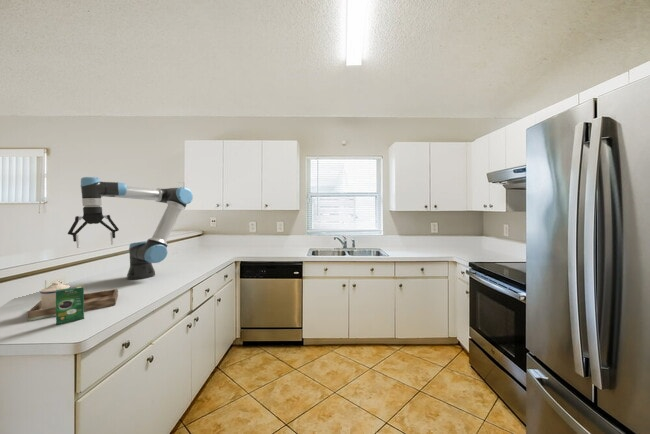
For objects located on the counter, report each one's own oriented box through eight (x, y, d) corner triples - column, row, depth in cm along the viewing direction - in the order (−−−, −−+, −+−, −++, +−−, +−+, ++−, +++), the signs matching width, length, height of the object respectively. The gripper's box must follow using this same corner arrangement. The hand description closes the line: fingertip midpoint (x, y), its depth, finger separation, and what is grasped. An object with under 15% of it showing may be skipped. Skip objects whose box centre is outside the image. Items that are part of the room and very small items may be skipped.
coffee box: (84, 316, 105) (83, 285, 105) (85, 318, 103) (83, 286, 103) (56, 323, 99) (54, 289, 99) (56, 325, 97) (54, 291, 97)
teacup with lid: (59, 312, 108) (58, 284, 107) (34, 313, 106) (33, 286, 106) (81, 301, 119) (80, 277, 119) (59, 303, 118) (58, 278, 118)
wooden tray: (117, 295, 131) (117, 288, 131) (115, 305, 117) (114, 297, 117) (41, 308, 115) (40, 300, 115) (27, 321, 101) (27, 312, 101)
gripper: (57, 207, 125) (61, 250, 126) (122, 205, 140) (125, 243, 142) (60, 207, 131) (64, 248, 132) (122, 205, 146) (125, 242, 147)
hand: (95, 245), depth 137 cm, fingers open, 13 cm apart
